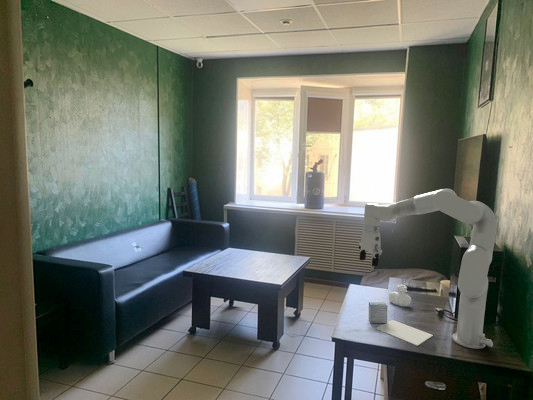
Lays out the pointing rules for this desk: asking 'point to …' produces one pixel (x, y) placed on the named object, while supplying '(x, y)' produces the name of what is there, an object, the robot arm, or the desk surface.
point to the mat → (404, 332)
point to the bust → (400, 296)
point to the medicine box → (378, 312)
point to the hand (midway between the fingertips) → (368, 262)
